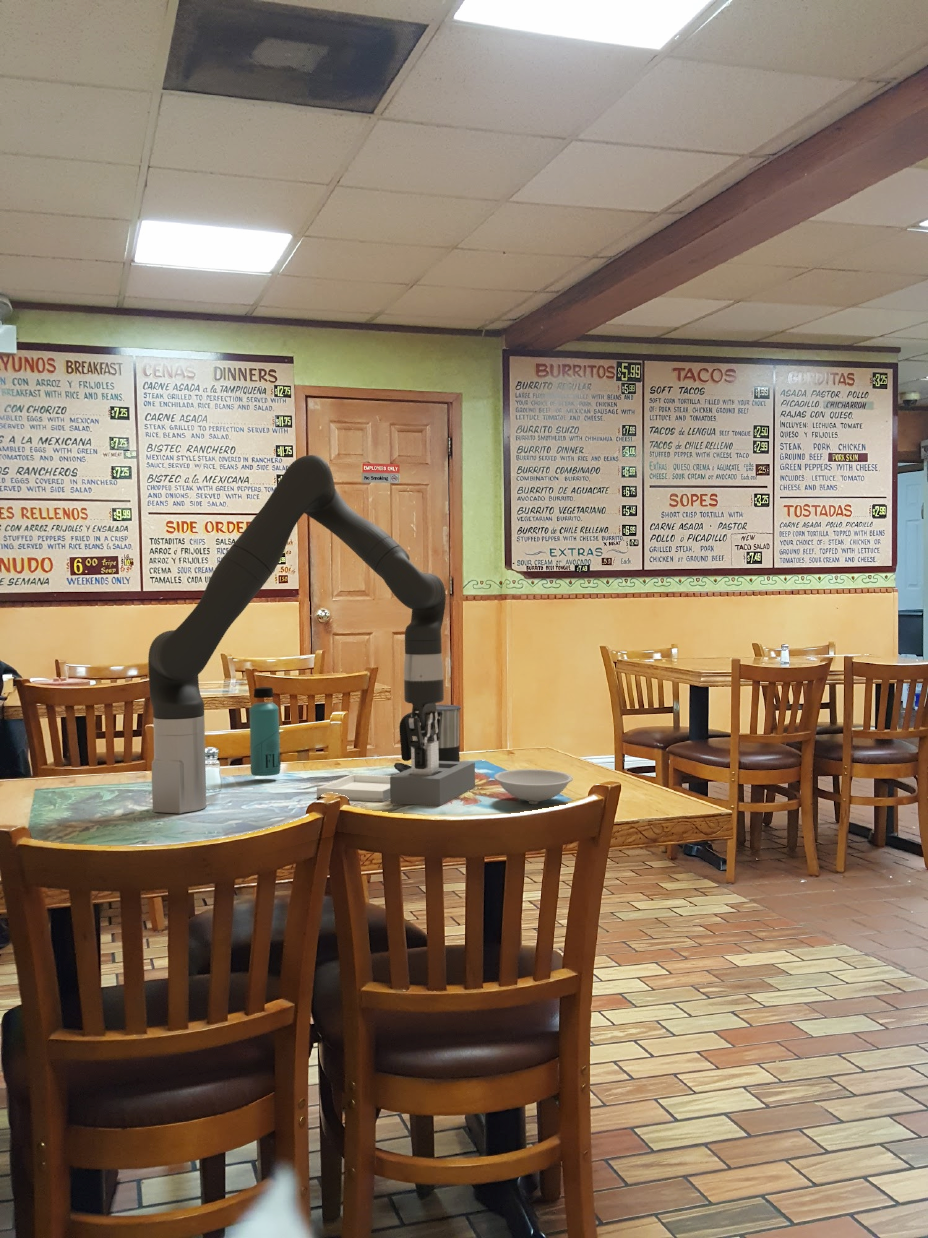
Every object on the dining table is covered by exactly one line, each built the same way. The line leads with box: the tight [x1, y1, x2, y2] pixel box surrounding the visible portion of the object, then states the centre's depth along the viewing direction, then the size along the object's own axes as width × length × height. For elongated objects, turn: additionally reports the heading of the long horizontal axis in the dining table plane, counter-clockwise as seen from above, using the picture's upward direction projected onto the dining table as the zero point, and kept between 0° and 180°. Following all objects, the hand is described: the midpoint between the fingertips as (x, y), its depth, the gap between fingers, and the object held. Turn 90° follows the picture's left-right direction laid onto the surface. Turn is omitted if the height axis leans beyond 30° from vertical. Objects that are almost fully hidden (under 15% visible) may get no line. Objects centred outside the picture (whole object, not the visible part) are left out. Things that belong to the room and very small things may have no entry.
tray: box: [316, 773, 392, 802], centre depth 214 cm, size 16×14×2 cm
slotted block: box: [389, 761, 476, 807], centre depth 210 cm, size 20×10×5 cm, turn 160°
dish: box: [493, 768, 574, 805], centre depth 200 cm, size 18×14×5 cm
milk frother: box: [393, 704, 462, 773], centre depth 231 cm, size 14×16×15 cm
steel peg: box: [410, 740, 439, 776], centre depth 205 cm, size 4×4×11 cm
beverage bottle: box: [249, 686, 282, 777], centre depth 229 cm, size 6×7×20 cm
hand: (425, 766), depth 205 cm, fingers closed on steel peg, 4 cm apart
